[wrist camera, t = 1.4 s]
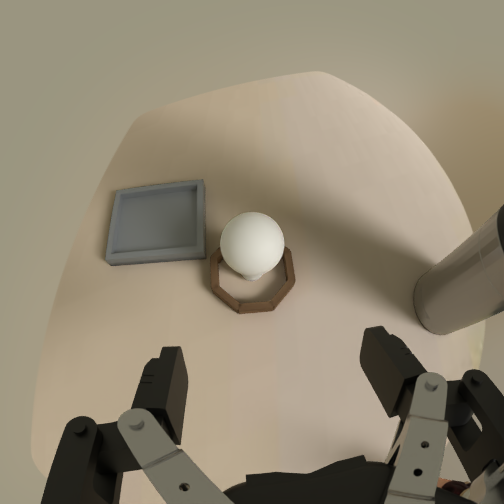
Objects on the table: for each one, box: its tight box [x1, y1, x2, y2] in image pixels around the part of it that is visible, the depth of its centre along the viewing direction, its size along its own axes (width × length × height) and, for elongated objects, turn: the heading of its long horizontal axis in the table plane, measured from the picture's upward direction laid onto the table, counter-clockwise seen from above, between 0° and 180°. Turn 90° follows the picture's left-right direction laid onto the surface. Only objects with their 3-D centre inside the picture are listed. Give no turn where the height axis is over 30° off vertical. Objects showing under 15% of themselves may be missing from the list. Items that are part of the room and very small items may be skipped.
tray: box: [105, 179, 206, 266], centre depth 37 cm, size 13×11×2 cm
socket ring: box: [210, 246, 295, 314], centre depth 35 cm, size 10×10×2 cm
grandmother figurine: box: [437, 478, 472, 499], centre depth 17 cm, size 8×4×13 cm, turn 83°
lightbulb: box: [220, 212, 284, 281], centre depth 30 cm, size 6×6×11 cm
